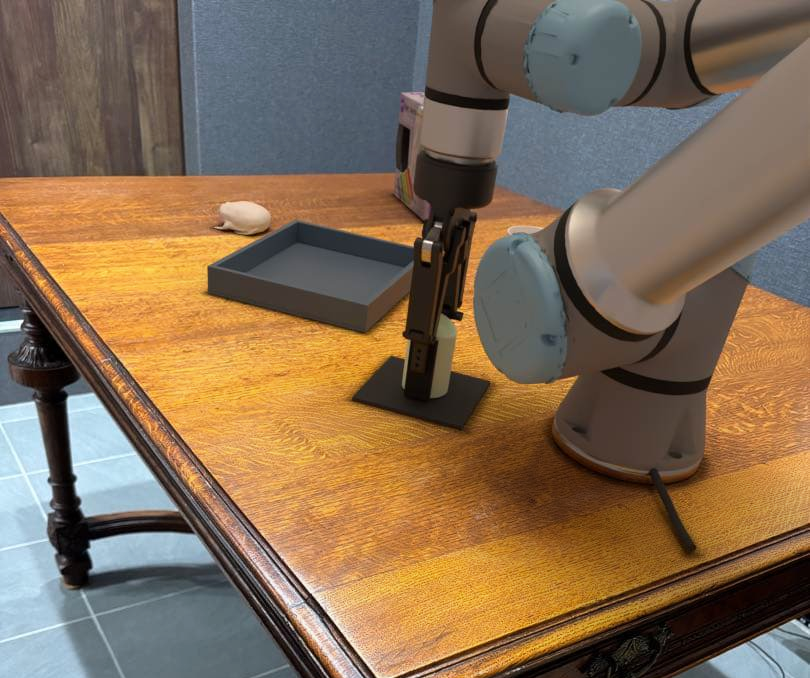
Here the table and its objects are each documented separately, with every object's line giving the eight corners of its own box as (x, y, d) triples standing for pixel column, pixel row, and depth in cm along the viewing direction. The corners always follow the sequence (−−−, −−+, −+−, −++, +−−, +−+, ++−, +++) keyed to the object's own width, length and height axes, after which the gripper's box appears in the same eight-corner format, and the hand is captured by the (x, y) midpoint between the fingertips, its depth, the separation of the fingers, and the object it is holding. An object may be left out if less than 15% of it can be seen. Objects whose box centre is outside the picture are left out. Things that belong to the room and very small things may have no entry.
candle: (455, 388, 88) (468, 316, 83) (432, 403, 85) (444, 329, 80) (417, 373, 90) (426, 302, 85) (392, 388, 87) (401, 314, 82)
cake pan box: (388, 192, 153) (399, 87, 143) (413, 193, 155) (426, 89, 144) (420, 223, 139) (434, 109, 129) (447, 224, 141) (463, 111, 130)
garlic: (209, 228, 124) (209, 202, 121) (230, 218, 129) (230, 193, 127) (257, 239, 122) (257, 213, 120) (276, 228, 127) (277, 203, 125)
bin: (365, 333, 99) (367, 305, 97) (207, 293, 103) (206, 265, 101) (428, 274, 119) (431, 250, 117) (294, 243, 123) (295, 219, 121)
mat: (461, 429, 82) (462, 426, 82) (351, 400, 84) (352, 396, 84) (490, 384, 91) (490, 381, 91) (390, 358, 94) (391, 355, 93)
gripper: (447, 132, 81) (418, 349, 95) (385, 163, 67) (362, 412, 81) (519, 146, 80) (479, 364, 94) (472, 180, 66) (433, 431, 80)
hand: (425, 386), depth 87 cm, fingers closed on candle, 5 cm apart
